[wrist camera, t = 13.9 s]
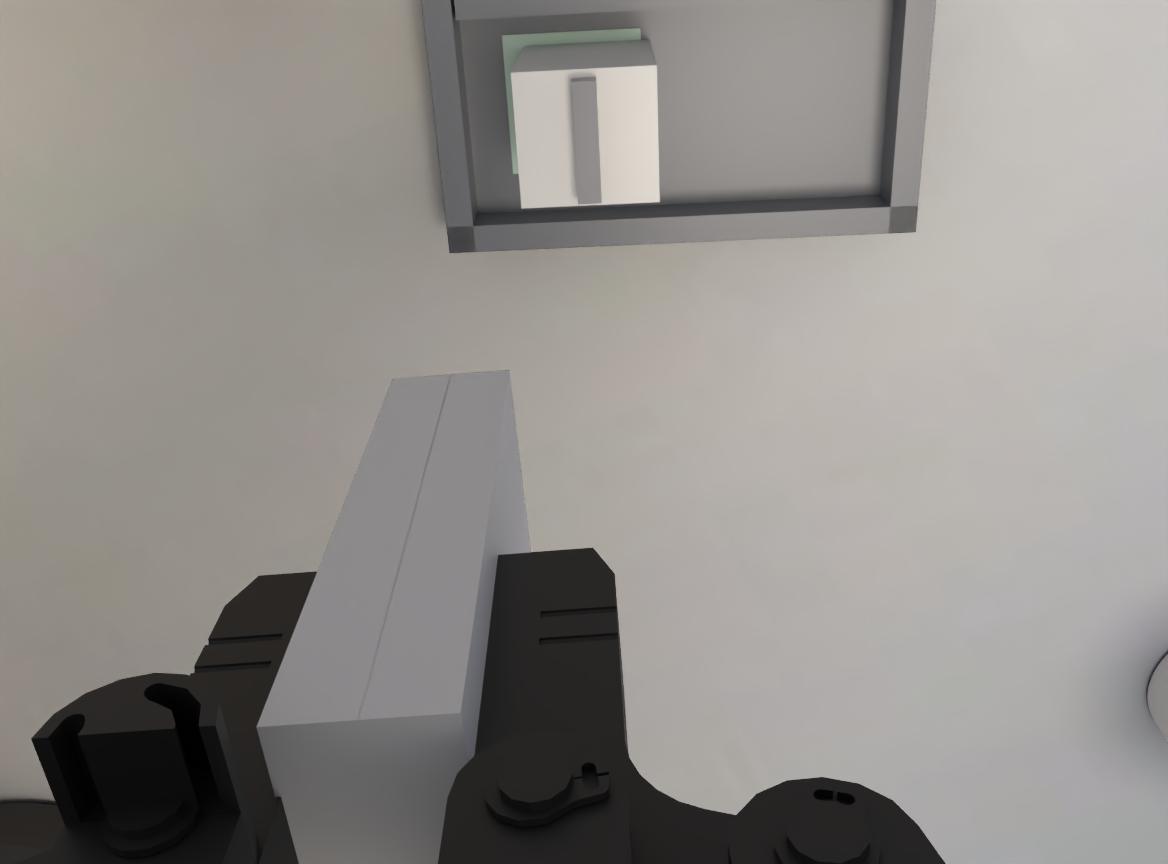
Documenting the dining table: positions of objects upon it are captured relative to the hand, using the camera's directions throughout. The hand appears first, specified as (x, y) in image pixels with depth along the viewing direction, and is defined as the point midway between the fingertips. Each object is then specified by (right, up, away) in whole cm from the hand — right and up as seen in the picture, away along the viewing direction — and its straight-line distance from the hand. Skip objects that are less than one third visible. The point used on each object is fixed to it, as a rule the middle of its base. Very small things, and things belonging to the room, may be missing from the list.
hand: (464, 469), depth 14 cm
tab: (+2, +10, +17) cm, 20 cm away
